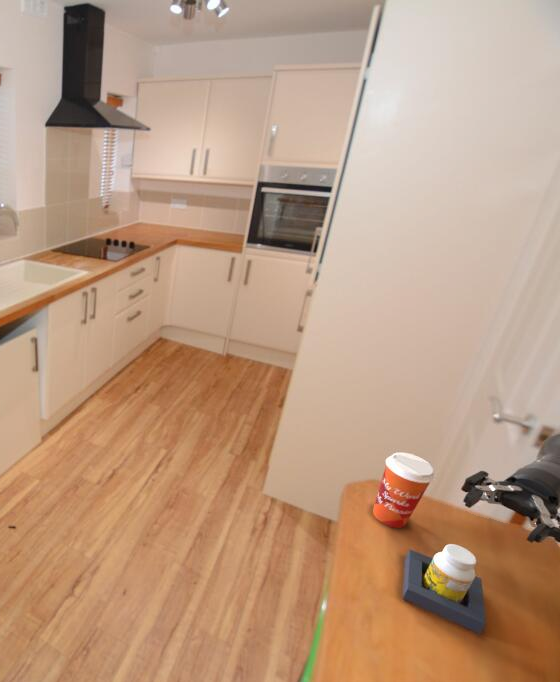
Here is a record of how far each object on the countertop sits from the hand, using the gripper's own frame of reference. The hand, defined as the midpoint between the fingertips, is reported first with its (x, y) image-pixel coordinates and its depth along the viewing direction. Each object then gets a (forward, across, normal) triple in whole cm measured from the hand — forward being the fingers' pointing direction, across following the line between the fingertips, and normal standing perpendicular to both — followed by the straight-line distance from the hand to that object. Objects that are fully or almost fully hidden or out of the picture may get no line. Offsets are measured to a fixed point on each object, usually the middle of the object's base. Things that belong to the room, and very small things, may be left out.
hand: (498, 519), depth 78 cm
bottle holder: (+11, 0, -12) cm, 16 cm away
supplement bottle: (+11, 0, -12) cm, 16 cm away
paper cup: (+1, +14, -12) cm, 18 cm away
